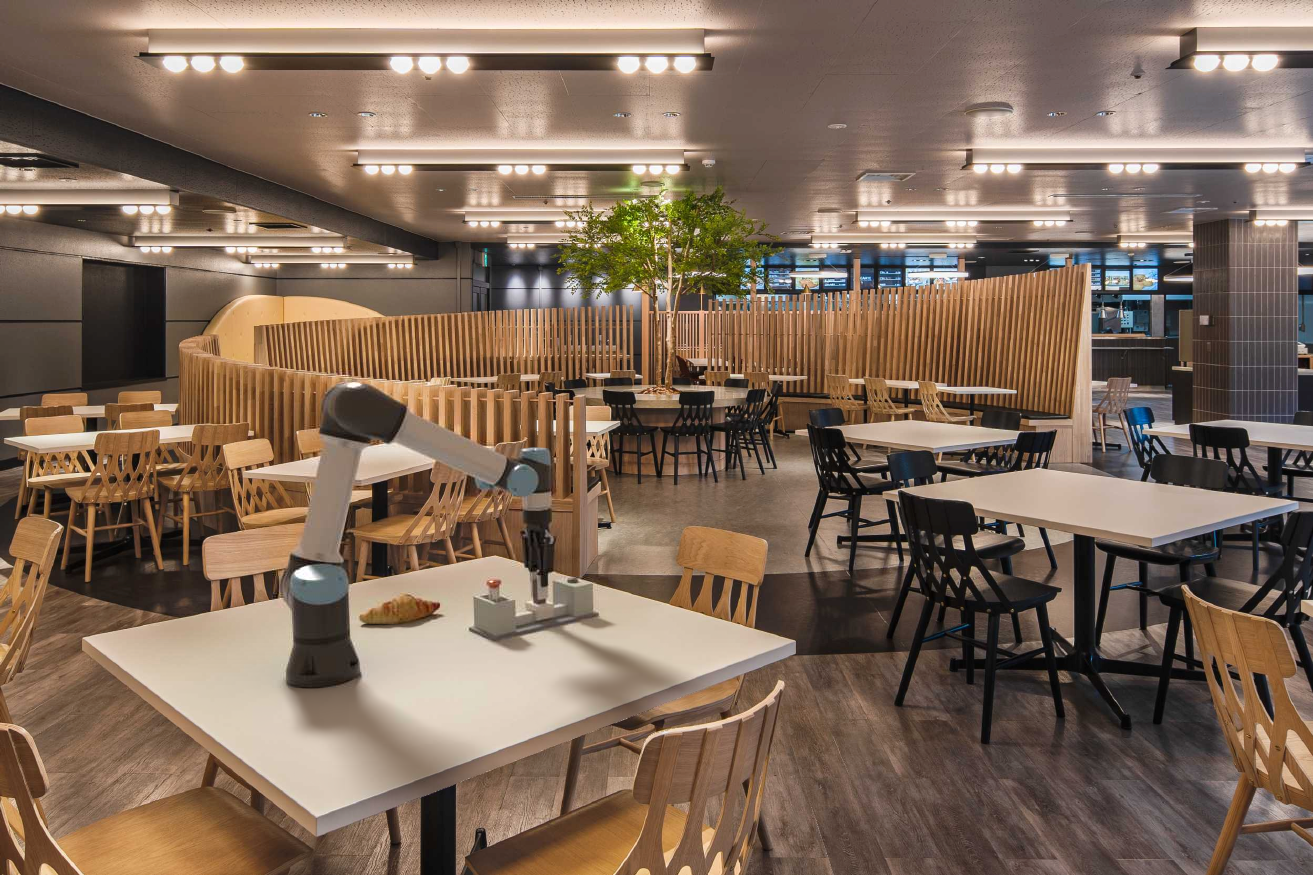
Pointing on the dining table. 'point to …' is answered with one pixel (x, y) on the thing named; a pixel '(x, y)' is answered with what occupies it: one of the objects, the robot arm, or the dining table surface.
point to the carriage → (539, 605)
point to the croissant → (400, 610)
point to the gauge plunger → (494, 589)
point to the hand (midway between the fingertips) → (539, 597)
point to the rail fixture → (504, 621)
